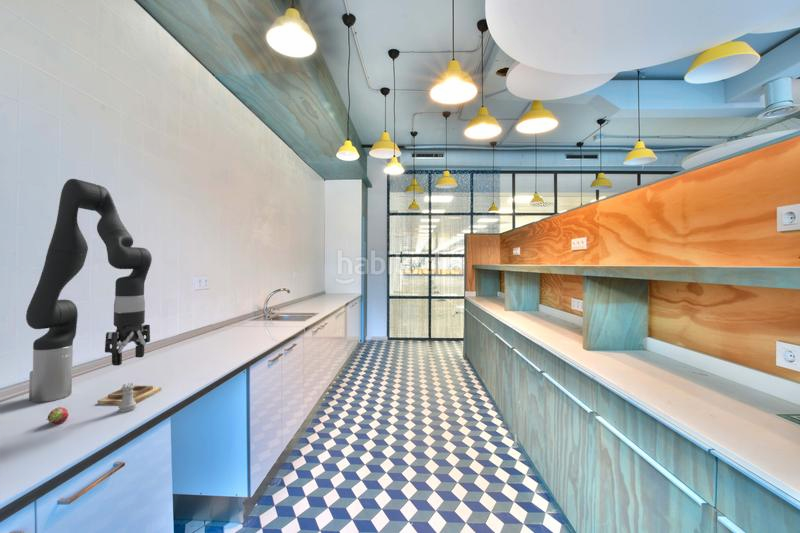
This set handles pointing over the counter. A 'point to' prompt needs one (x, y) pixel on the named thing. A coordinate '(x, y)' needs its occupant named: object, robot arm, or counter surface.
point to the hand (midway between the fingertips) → (128, 361)
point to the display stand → (138, 395)
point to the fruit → (57, 415)
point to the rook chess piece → (127, 399)
